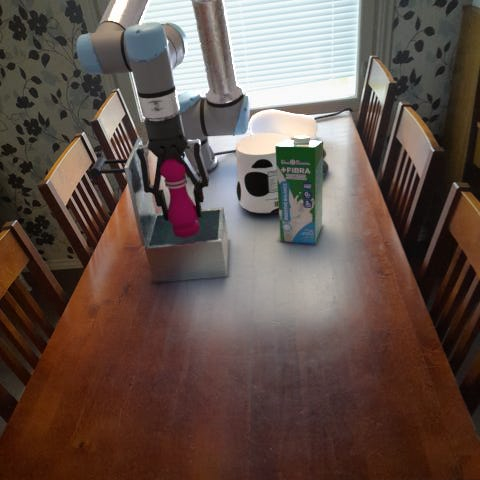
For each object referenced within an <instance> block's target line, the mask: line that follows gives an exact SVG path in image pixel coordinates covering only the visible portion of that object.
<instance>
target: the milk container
mask: <svg viewBox="0 0 480 480" xmlns="http://www.w3.org/2000/svg"><path fill="white" fill-rule="evenodd" d="M286 140H291V138H290V137H288V136H287V135H284V134H281V133H272V132H271V133H259V134H253V135H252V134H251V135H248V136H244V137H243V138H241V139H239V140H238V141H237V142H236V144H235V150H236V153H235V164H236V170H237V183H236V198H237V201H238V204H239V205H240V206H241V207H242V209H243V210H245V211H247V212H249V213H251V214H256V215H272V214H277V213H278V214H279V203H278V185H277V167H276V149H275V146H276V145H278V144H280V143H282V142H284V141H286Z"/></svg>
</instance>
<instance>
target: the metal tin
mask: <svg viewBox="0 0 480 480" xmlns="http://www.w3.org/2000/svg"><path fill="white" fill-rule="evenodd" d="M197 221H198V224H199V231H198V233H196V234H195V235H193V236H191V237H186V238H181V237H177V236H176V235H174V232H173V228H172V226H173V224H171V223H170V222H169V220H168V221H165V220H164V216H163V212H160V213H155V215H154V218H153V222H152V225H151V229H150V232H149V236H148V239H147V243H146V246H144V252H145V256H146V259H147V262H148V263H147V264H148V266H149V269H150V273H151V276H152V279H153V282H154V283H165V282H166V283H167V282H179V281H189V280H201V279H212V278H213V279H214V278H223V277H224V278H225V277H228V265H229V264H228V262H229V260H228V259H229V235H228V227H227V221H226V215H225V208H224V207H212V208H202V216H201V217H200V218H197Z"/></svg>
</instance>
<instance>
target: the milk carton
mask: <svg viewBox="0 0 480 480" xmlns="http://www.w3.org/2000/svg"><path fill="white" fill-rule="evenodd" d="M323 148H324V141H323V140H314V141H310V136H294V137H293V140H286V141H284V142H282V143H280V144H278V145H276V146H275V149H276V167H277V185H278V203H279V212H278V221H279V237H280V238H279V239H280V242H287V243H288V242H289V243H298V244H310V245H316V242H317V240H318V237H319V234H320V231H321V229H322V226H323V186H324V185H323V181H324V174H323Z"/></svg>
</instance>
